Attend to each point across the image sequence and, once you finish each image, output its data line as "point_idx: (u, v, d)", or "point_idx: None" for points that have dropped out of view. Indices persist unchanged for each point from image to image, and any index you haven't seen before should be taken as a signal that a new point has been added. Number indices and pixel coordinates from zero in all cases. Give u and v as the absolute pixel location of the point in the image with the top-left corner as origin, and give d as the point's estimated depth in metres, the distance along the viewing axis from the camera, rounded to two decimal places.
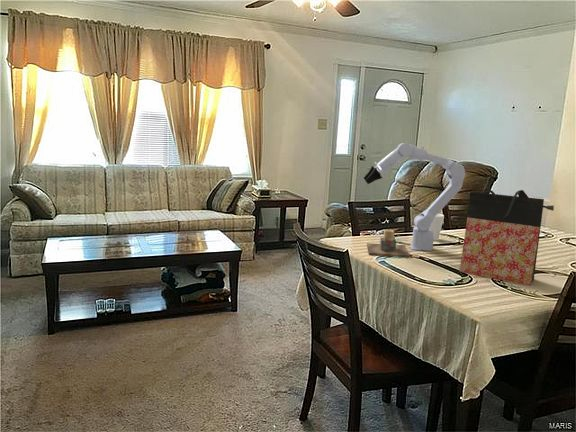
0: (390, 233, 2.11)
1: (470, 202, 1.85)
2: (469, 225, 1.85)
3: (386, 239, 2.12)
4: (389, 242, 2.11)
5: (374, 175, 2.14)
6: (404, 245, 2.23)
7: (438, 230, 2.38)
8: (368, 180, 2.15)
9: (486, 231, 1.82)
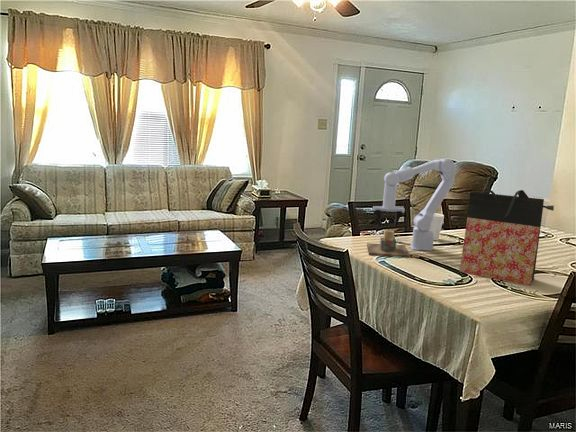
0: (390, 233, 2.11)
1: (470, 202, 1.85)
2: (469, 225, 1.85)
3: (386, 239, 2.12)
4: (389, 242, 2.11)
5: None
6: (404, 245, 2.23)
7: (438, 230, 2.38)
8: (396, 224, 2.20)
9: (486, 231, 1.82)
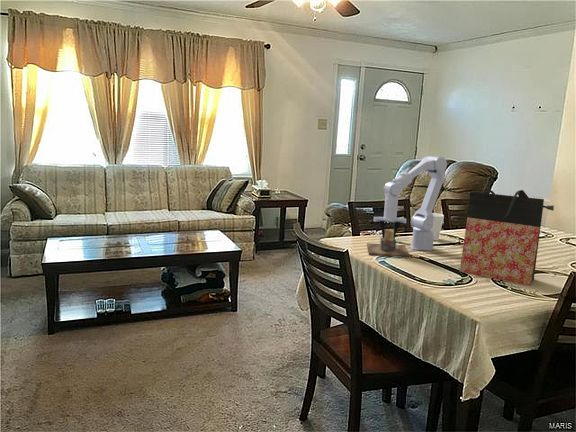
0: (390, 233, 2.11)
1: (470, 202, 1.85)
2: (469, 225, 1.85)
3: (386, 239, 2.12)
4: (389, 242, 2.11)
5: None
6: (404, 245, 2.23)
7: (438, 230, 2.38)
8: None
9: (486, 231, 1.82)
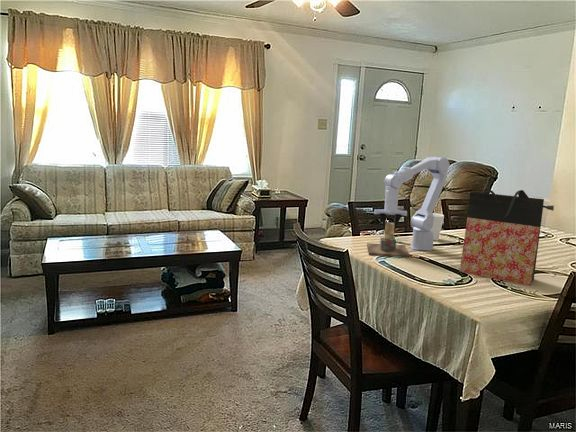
0: (391, 226, 2.11)
1: (470, 202, 1.85)
2: (469, 225, 1.85)
3: (387, 232, 2.11)
4: (389, 242, 2.11)
5: None
6: (404, 245, 2.23)
7: (438, 230, 2.38)
8: None
9: (486, 231, 1.82)
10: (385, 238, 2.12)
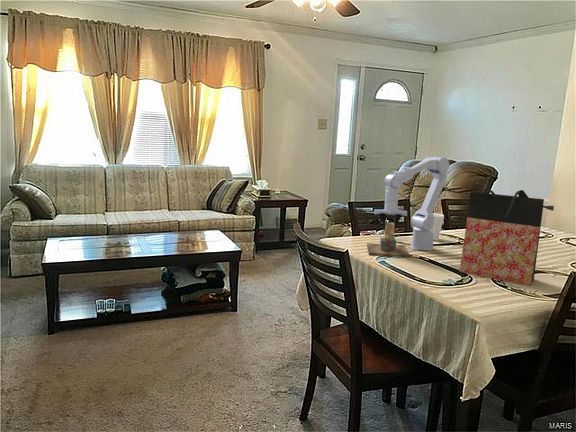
0: (391, 226, 2.11)
1: (470, 202, 1.85)
2: (469, 225, 1.85)
3: (387, 232, 2.11)
4: (389, 242, 2.11)
5: None
6: (404, 245, 2.23)
7: (438, 230, 2.38)
8: None
9: (486, 231, 1.82)
10: (385, 238, 2.12)
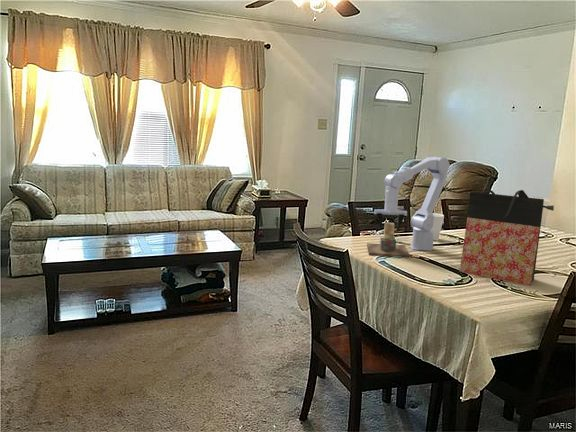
0: (391, 226, 2.11)
1: (470, 202, 1.85)
2: (469, 225, 1.85)
3: (387, 232, 2.11)
4: (389, 242, 2.11)
5: None
6: (404, 245, 2.23)
7: (438, 230, 2.38)
8: None
9: (486, 231, 1.82)
10: (385, 238, 2.12)
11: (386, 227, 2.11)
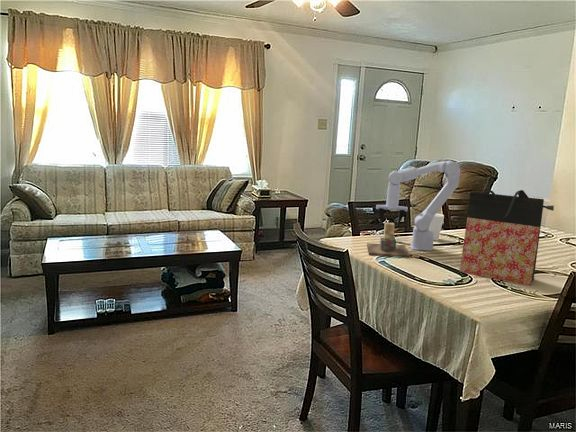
0: (391, 226, 2.11)
1: (470, 202, 1.85)
2: (469, 225, 1.85)
3: (387, 232, 2.11)
4: (389, 242, 2.11)
5: None
6: (404, 245, 2.23)
7: (438, 230, 2.38)
8: None
9: (486, 231, 1.82)
10: (385, 238, 2.12)
11: (386, 227, 2.11)
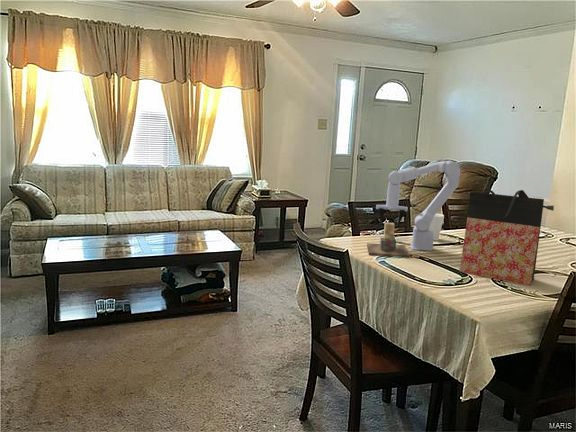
0: (391, 226, 2.11)
1: (470, 202, 1.85)
2: (469, 225, 1.85)
3: (387, 232, 2.11)
4: (389, 242, 2.11)
5: None
6: (404, 245, 2.23)
7: (438, 230, 2.38)
8: None
9: (486, 231, 1.82)
10: (385, 238, 2.12)
11: (386, 227, 2.11)
